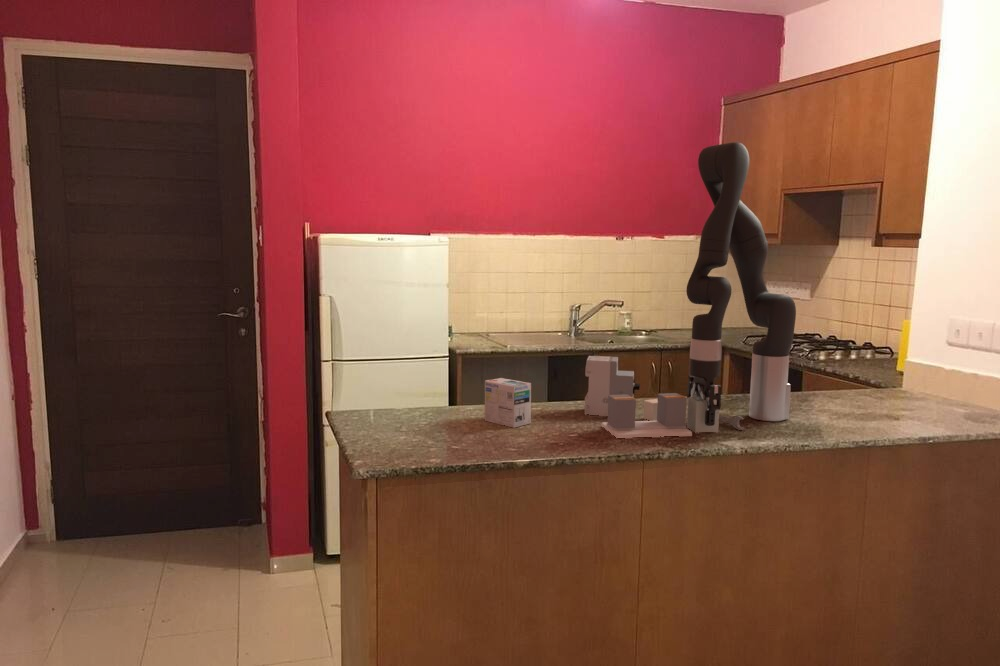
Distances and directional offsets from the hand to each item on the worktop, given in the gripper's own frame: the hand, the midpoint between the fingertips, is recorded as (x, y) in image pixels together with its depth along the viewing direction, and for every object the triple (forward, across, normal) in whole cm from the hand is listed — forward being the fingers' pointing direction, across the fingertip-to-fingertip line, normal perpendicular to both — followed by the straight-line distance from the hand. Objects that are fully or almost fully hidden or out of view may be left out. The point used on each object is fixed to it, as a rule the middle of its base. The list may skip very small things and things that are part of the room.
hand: (702, 421), depth 191 cm
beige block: (+2, +12, +8) cm, 14 cm away
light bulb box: (+3, +14, +47) cm, 49 cm away
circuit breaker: (+3, +20, +17) cm, 26 cm away
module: (+2, 0, 0) cm, 2 cm away
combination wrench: (+3, +7, -8) cm, 11 cm away
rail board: (+2, +1, +14) cm, 15 cm away
